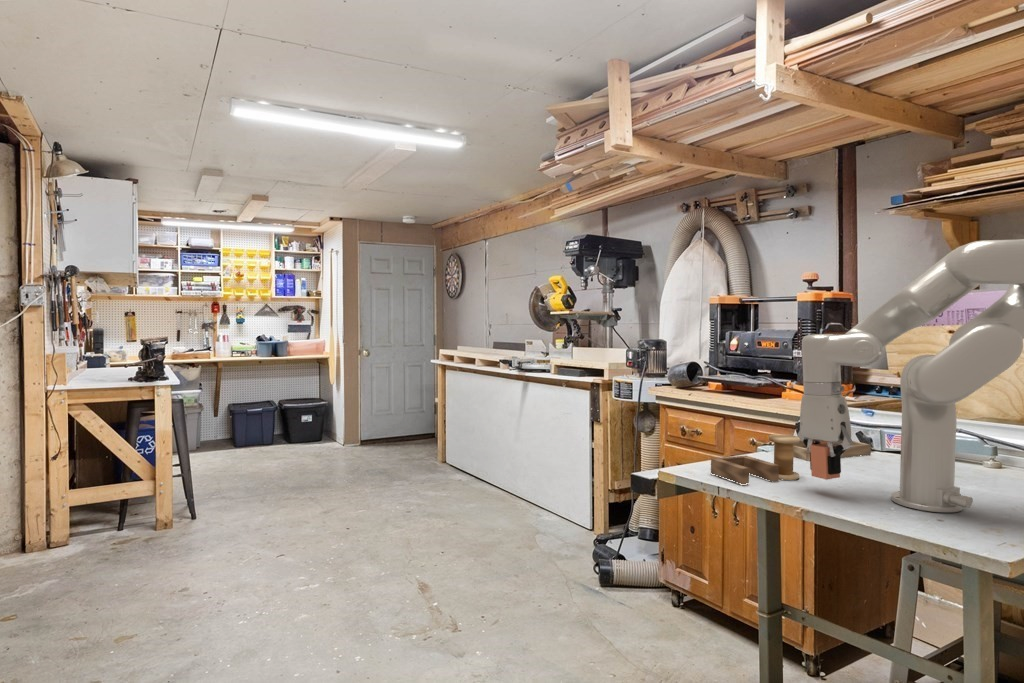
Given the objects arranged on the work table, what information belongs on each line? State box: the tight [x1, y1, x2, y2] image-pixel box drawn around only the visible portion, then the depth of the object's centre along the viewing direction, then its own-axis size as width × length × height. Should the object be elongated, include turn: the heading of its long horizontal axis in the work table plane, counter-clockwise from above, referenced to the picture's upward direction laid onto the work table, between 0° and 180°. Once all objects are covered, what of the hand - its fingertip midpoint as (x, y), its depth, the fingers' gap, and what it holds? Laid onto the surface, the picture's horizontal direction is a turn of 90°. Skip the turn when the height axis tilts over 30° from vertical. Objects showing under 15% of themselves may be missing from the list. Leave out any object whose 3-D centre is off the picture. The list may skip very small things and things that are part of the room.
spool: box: [768, 433, 801, 481], centre depth 151 cm, size 7×7×10 cm
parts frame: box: [793, 439, 872, 462], centre depth 179 cm, size 12×23×3 cm, turn 111°
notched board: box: [710, 455, 780, 484], centre depth 150 cm, size 11×11×4 cm
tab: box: [810, 443, 841, 481], centre depth 136 cm, size 4×4×7 cm
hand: (825, 470), depth 136 cm, fingers closed on tab, 4 cm apart
